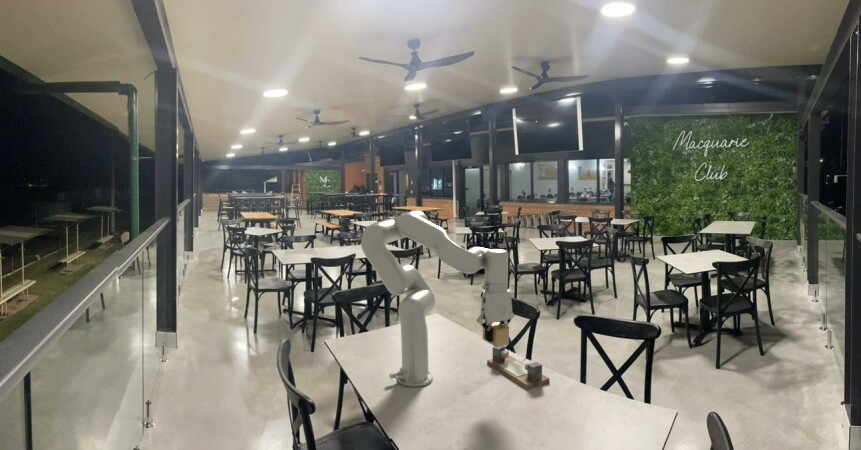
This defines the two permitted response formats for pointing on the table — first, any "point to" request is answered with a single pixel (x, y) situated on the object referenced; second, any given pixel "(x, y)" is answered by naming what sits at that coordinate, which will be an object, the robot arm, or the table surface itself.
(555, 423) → the table surface
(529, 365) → the shaft rig
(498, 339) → the gold rectangular block
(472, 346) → the table surface
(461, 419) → the table surface
